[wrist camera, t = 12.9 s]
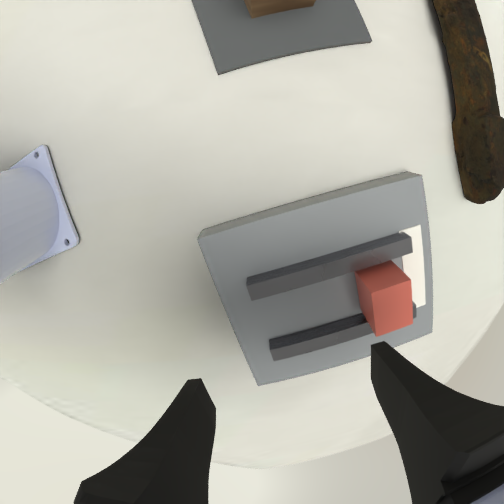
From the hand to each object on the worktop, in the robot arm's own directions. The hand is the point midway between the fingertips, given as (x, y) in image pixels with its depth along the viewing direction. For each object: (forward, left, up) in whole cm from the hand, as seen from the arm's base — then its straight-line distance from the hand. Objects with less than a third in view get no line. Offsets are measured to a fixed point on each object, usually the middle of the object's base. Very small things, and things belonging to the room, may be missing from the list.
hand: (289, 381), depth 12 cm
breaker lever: (+6, -1, -7) cm, 10 cm away
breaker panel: (+4, -1, -9) cm, 10 cm away
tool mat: (+6, +19, -9) cm, 22 cm away
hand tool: (+18, +11, -10) cm, 23 cm away
